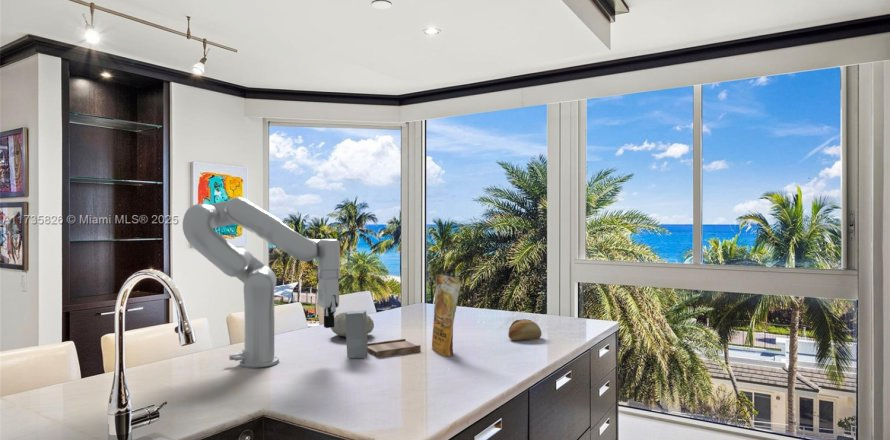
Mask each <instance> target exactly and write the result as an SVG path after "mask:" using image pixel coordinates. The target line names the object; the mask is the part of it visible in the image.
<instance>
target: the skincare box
mask: <svg viewBox="0 0 890 440" xmlns="http://www.w3.org/2000/svg"><path fill="white" fill-rule="evenodd" d="M346 312H347V313H346V337H345V338H346V358H347V359H355V358H356V359H365V358H366V357H367V355H368V354H369V352H368V346H367V343H368V334H367V320H366V315H367V310H349V311H346Z"/></svg>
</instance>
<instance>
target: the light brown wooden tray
mask: <svg viewBox="0 0 890 440" xmlns="http://www.w3.org/2000/svg"><path fill="white" fill-rule="evenodd" d="M367 346H368V354H369V353H370V354H371V355H372V356H374V357H376V358H383V357H391V356H398V355H405V354H411V353H419V352H421V348H422V347H421V346H422V345H421V344H419V345H418V344H417V345H416V344H414V343H412V342H409V341H407V340H406V338H400V339H393V340H391V339H390V340H384V341H377V342H369V343H368V342H367Z"/></svg>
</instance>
